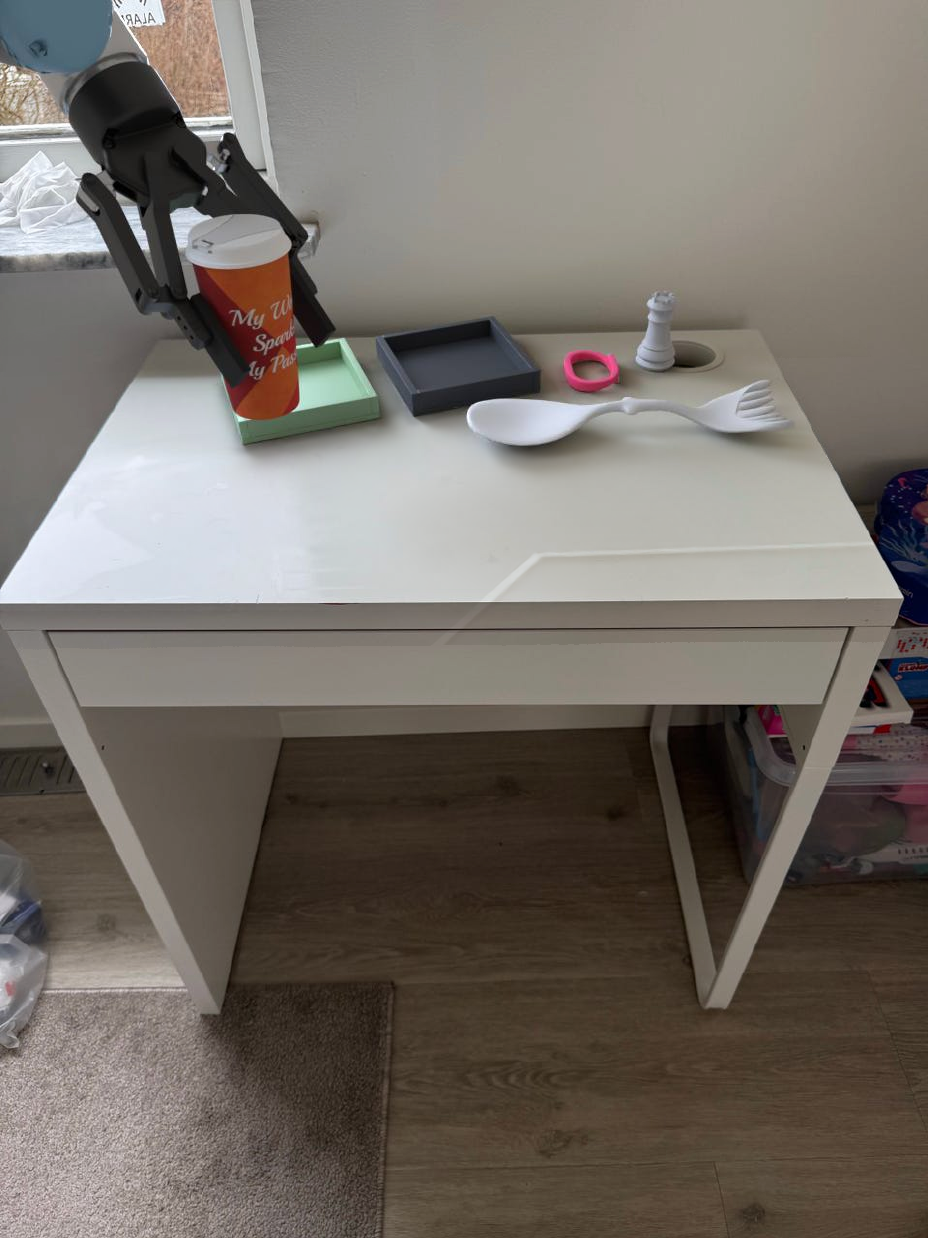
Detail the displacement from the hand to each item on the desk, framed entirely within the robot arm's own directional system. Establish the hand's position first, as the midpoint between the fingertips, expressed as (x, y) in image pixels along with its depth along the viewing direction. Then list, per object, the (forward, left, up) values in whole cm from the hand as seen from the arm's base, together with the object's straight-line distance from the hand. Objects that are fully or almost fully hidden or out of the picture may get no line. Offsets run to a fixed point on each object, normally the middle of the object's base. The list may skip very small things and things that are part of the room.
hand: (284, 358), depth 73 cm
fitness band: (+36, +19, -18) cm, 45 cm away
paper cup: (-2, +3, -5) cm, 6 cm away
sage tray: (+4, +26, -18) cm, 32 cm away
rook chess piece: (+44, +19, -18) cm, 51 cm away
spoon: (+34, +7, -18) cm, 39 cm away
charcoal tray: (+22, +25, -18) cm, 38 cm away
